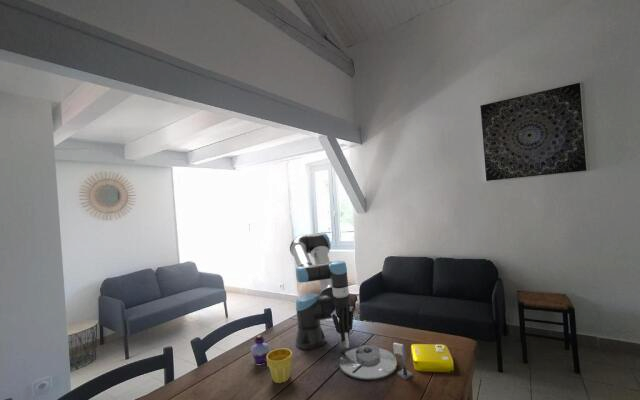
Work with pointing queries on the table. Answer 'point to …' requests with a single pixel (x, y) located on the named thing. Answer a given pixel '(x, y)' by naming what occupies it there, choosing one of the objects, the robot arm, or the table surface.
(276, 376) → the plant pot
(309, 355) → the table surface
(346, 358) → the turntable
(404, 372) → the stand
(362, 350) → the cover
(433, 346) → the element tile
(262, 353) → the potion bottle
